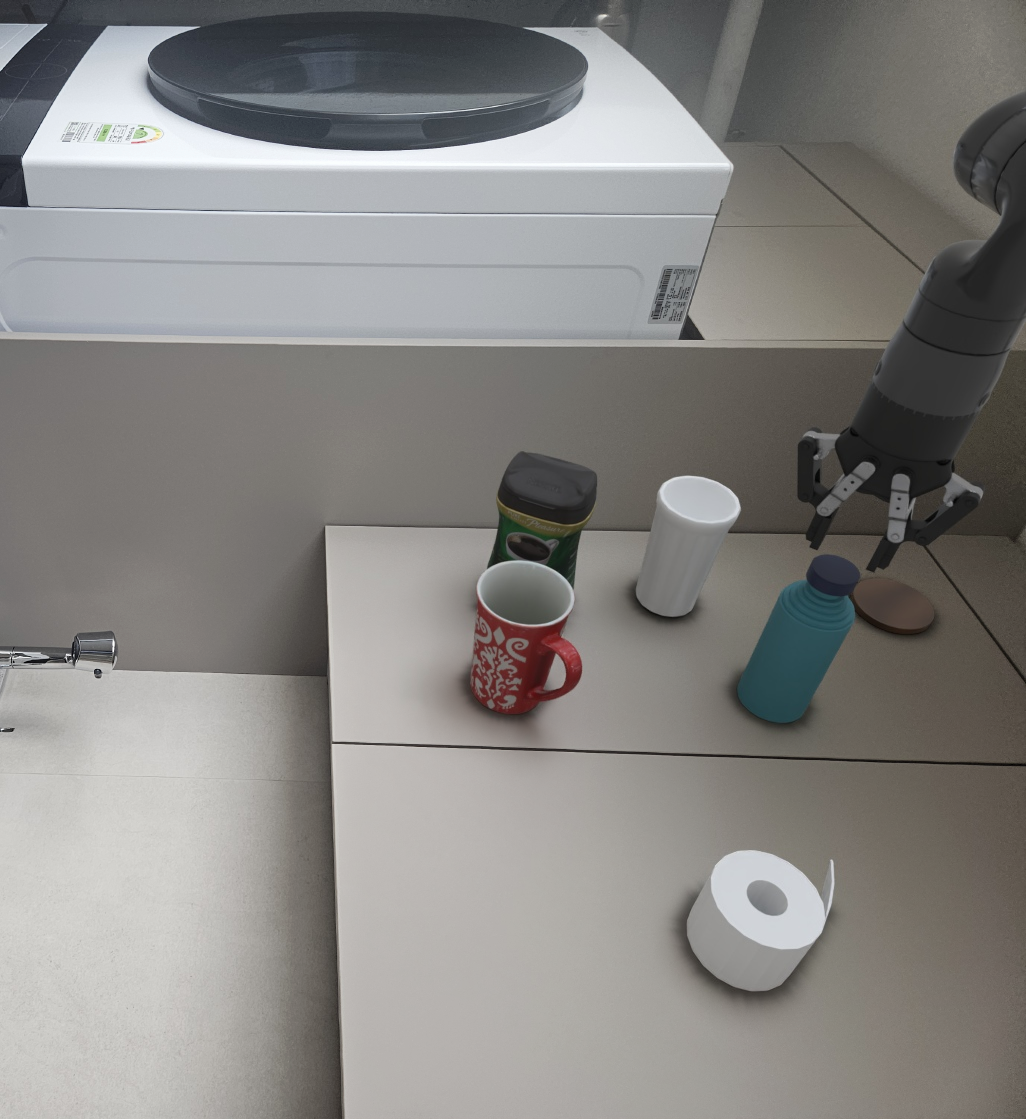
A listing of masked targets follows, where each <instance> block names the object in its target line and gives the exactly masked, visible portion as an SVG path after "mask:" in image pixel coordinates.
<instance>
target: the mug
mask: <svg viewBox="0 0 1026 1119" xmlns="http://www.w3.org/2000/svg"><path fill="white" fill-rule="evenodd" d="M486 569H487V568H486ZM486 569H485V570H484V571H483V572H482V573H481V574H480V575H479V578H478V579H477V582H476V586H475V593H476V598H477V600H476V612H475V624H474V635H473V646H472V660H471V669H470V677H469V678H470V680H469V682H470V689H471V691H472V694H473V696H474V697H475V698H476V700H477V701H478V702H479V703H480V704H482V705H483V706H485V707H486V708H488V709H490V710H492V711H494V712H497V713H499V714H506V715H519V714H523V713H526V712H529V711H531V710H532V709H534V708H536V706H537V705H538V704H540V703H542V702H548V701H553V700H556V699H559V698H561V697H563V696H565V695H567V694H569V693H570V692H572V691H573V690H575V688H576V687H577V686H578V684H579V682H580V681H581V678H582V674H583V661H582V658H581V655H580V653H579V651H578V649H577V648H576V646H575V645H573V643H572V642H570V641H569V640H567V639H565V638H564V637H563V633H564V630H565V627H566V625H567V621H568V618H569V616H570V614H571V613H572V611H573V609H574V606H575V602H576V598H575V592H574V590H573V589H572V587H571V585H570V584H569V582H568V581H567V580H566V579H565V578H564V577H563V576H562V575H561V574H559V573H558V572H557V571H555V570H553V569H551V568H549V567H547V566H545V565H542V564H539V563H535V562H530V561H506V562H502V563H499V564H496V565H494V566H492V567H490V568H488V569H487V570H486ZM556 655H558V657H559V658H560V660H561V661H562V663H563V665H564V669H565V678H564V681H563V684H562V686H561V687H558V688H555V689H549V690H548V689H545V688H546V685H547V682H548V679H549V676H550V672H551V670H552V666H553V663H554V661H555V657H556Z"/></svg>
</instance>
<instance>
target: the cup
mask: <svg viewBox="0 0 1026 1119" xmlns="http://www.w3.org/2000/svg"><path fill="white" fill-rule="evenodd" d="M655 502H656V508H655V510H654V511H655V512H654V516H653V520H652V524H651V527H650V531H649V535H648V539H647V543H646V547H645V552H644V556H643V559H642V562H641V566H640V572H639V575H638V579H637V584H636V588H635V595H636V598H637V600H638V602H639V603H640V604H641V606H643V607H644V608H646V609H647V610H649V611H650V612H652V613H654V614H657V615H659V616H663V617H672V618H675V617H676V618H677V617H682V616H685V615H687V614H688V613H690V612H692V610H693V608H694V606H695V604H696V602H697V600H698V598H699V596H700V593H701V591H702V589H703V587H704V585H705V582H706V581H707V579H708V576H709V574H710V573H711V570H712V568H713V565H714V563H715V561H716V559H717V557H718V554H719V552H720V550H721V548H722V546H723V543H724V542H725V540H726V538H727V535H728V534H729V531H730V529H731V528H732V527H733V526H734V525H735V523H736V521H737V520H738V518H739V515H740V514H741V511H742V508H741V503H740V500H739V497H738V496H737V495H736V494H735V493H734V492H733V491H732V490H731V489H730V488H729V487H727V486H725V485H724V484H722V483H720V482H718V481H716V480H714V479H710V478H707V477H704V476H698V475H697V476H696V475H681V476H674V477H672V478H670V479H668V480H666V481H665V482H663V483H662V484H661V485H660V487H659V489H658V491H657V493H656V501H655Z"/></svg>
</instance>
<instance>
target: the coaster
mask: <svg viewBox="0 0 1026 1119" xmlns="http://www.w3.org/2000/svg"><path fill="white" fill-rule="evenodd" d="M850 600H851V602H852V604H853V606H854V609H855V611H856V613H857V614H858V615H859V616H860V617H861V618H862V619H864V620H865V621H866V622H868V623H869V624H871V625H873V626H875V627H876V628H879V629H881V630H883V631H885V632H890V633H894V634H899V635H914V634H919V633H922V632H924V631H926V630H927V629H929V627H930V626H931V624H932V622H933V621H934V618H935V609H934V607H933V605H932V603H931V601H929V600H928V598H927V597H926V596H925V595H924V594H922V592H920V591H918V589H915V588H914V587H912V586H911V585H908V584H906V583H903V582H900V581H897V580H894V579H890V578H882V577H871V578H866V579H863V580H861V581H859V582H858V583H857V584H856V586H855V588H854V590H853V592H852V593H850Z"/></svg>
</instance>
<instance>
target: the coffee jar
mask: <svg viewBox="0 0 1026 1119" xmlns="http://www.w3.org/2000/svg"><path fill="white" fill-rule="evenodd" d="M597 492H598V475H597V472H596V471H594V470H592V469H591V468H589V467H587V466H585V465H581V464H578V463H574V462H572V461H569V460H564V459H561V458H557V457H553V456H550V455H546V454H541V453H538V452H529V451H528V452H527V451H524V450H520V451H519V452H517V453H516V455H514V457H513V458H512V459H511V460H510V461H509V464H508V465H507V467H506V469H505V471H504V473H503V476H502V478H501V481H500V484H499V487H498V489H497V491H496V497H495V498H496V499H495V501H496V508H497V511H498V524H497V531H496V535H495V539H494V542H493V546H492V550H491V552H490V557H489V560H488V563H487V567H486V569H485V571H486V570H487V569H488V568H490V567H492V566H494V565H496V564H499V563H502V562H506V561H530V562H535V563H539V564H542V565H545V566H547V567H549V568H551V569H553V570H555V571H557V572H558V573H559V574H561V575H562V576H563V577H564V578H565V579H566V580H567V581H568V582H569V584H570V585H571V587H572V589H573V591H575V590H574V589H575V580H576V570H577V559H578V551H579V545H580V540H581V536H582V532H583V529H584V528H585V527H586V525H587V524H588V523H589V522H590V520H591V517H592V516H593V514H594V511H595V508H596V504H597Z"/></svg>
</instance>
